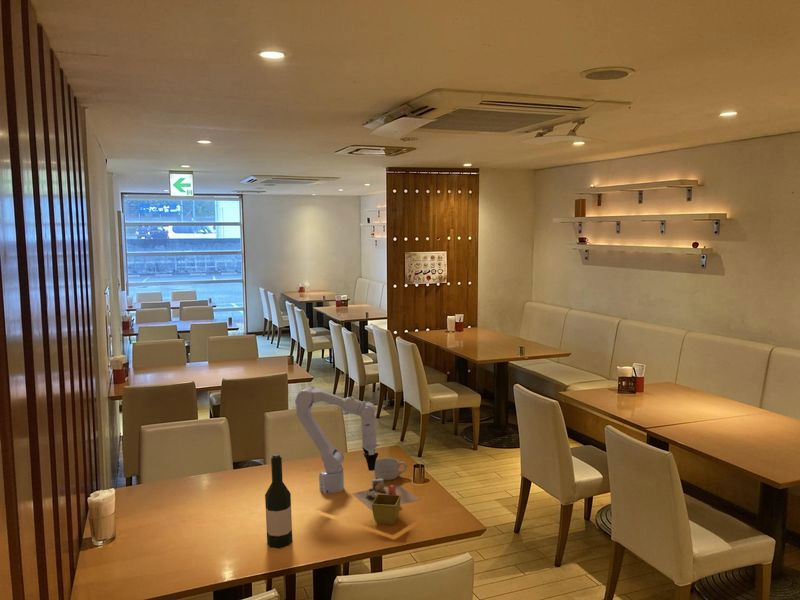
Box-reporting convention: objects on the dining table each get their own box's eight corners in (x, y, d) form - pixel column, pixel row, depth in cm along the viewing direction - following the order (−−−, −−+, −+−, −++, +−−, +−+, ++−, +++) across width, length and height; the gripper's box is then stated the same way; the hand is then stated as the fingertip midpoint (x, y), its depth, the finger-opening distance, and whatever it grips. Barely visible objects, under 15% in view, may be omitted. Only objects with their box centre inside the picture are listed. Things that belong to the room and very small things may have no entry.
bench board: (372, 514, 222) (372, 510, 222) (352, 496, 239) (351, 493, 239) (419, 502, 231) (419, 499, 231) (397, 486, 248) (396, 482, 248)
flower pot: (396, 530, 208) (395, 505, 208) (372, 528, 210) (371, 503, 210) (401, 519, 217) (401, 495, 216) (378, 517, 219) (377, 493, 218)
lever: (364, 496, 234) (364, 481, 234) (369, 493, 237) (369, 478, 237) (393, 503, 227) (392, 488, 227) (398, 499, 230) (397, 485, 230)
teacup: (370, 483, 252) (369, 464, 252) (378, 473, 263) (378, 455, 262) (402, 485, 248) (402, 466, 248) (409, 476, 259) (409, 458, 258)
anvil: (373, 491, 240) (372, 481, 240) (371, 489, 242) (371, 479, 242) (383, 489, 242) (383, 479, 241) (382, 487, 244) (382, 478, 243)
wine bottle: (281, 534, 208) (277, 449, 205) (297, 541, 202) (294, 453, 200) (261, 543, 201) (258, 455, 199) (278, 551, 196) (274, 460, 194)
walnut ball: (377, 494, 237) (377, 485, 236) (373, 491, 240) (373, 482, 240) (386, 492, 238) (385, 484, 238) (382, 489, 242) (381, 481, 241)
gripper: (380, 438, 234) (382, 472, 235) (377, 427, 248) (378, 460, 249) (362, 439, 233) (364, 474, 234) (360, 429, 247) (361, 461, 248)
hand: (370, 466), depth 242 cm, fingers open, 7 cm apart
